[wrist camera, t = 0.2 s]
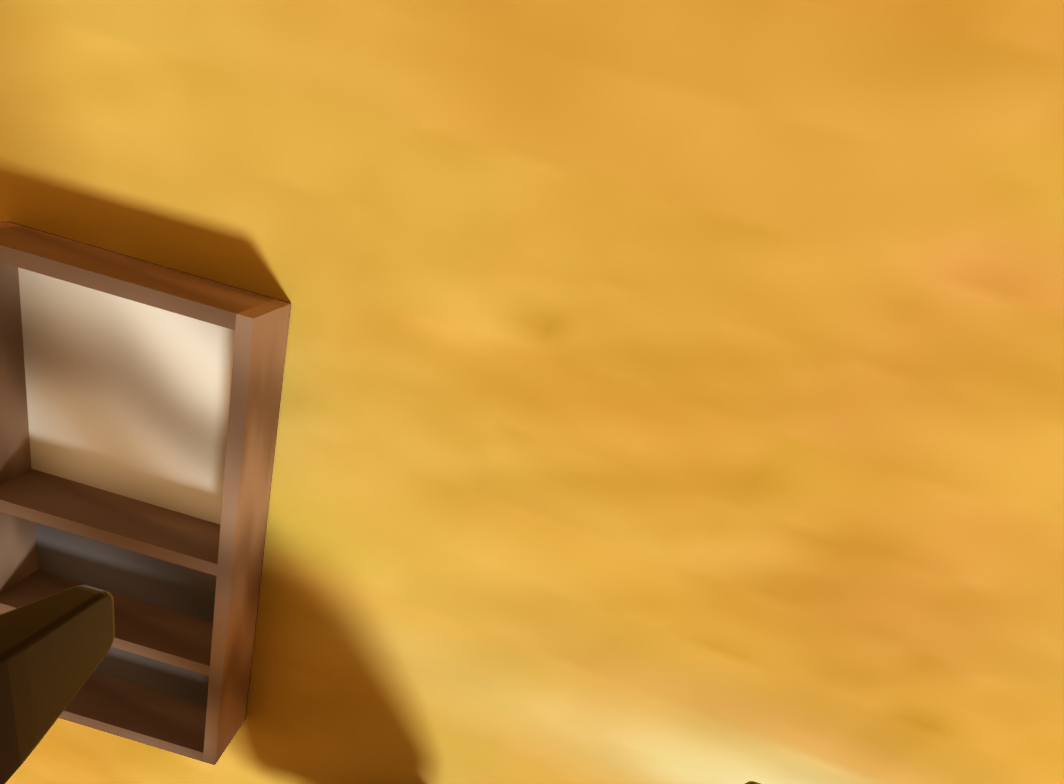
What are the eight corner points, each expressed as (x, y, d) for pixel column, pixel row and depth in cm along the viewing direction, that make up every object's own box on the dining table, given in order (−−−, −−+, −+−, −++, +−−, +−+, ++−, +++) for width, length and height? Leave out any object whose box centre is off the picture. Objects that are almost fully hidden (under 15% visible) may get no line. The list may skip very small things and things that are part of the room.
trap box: (245, 719, 30) (214, 764, 27) (38, 656, 30) (-10, 697, 28) (291, 303, 22) (253, 318, 19) (7, 221, 22) (-64, 226, 20)
